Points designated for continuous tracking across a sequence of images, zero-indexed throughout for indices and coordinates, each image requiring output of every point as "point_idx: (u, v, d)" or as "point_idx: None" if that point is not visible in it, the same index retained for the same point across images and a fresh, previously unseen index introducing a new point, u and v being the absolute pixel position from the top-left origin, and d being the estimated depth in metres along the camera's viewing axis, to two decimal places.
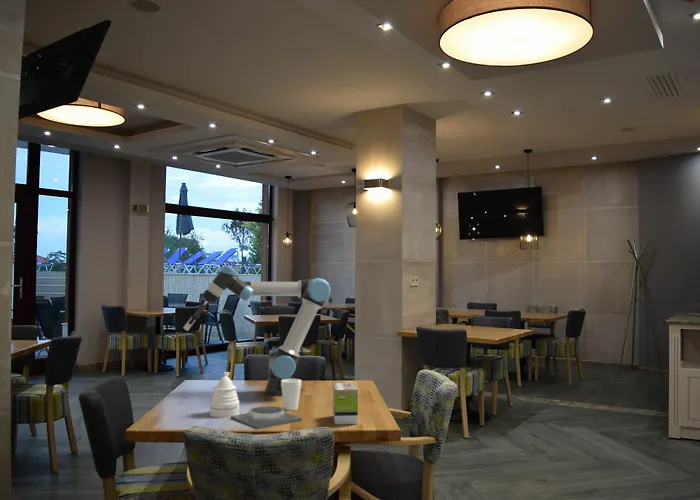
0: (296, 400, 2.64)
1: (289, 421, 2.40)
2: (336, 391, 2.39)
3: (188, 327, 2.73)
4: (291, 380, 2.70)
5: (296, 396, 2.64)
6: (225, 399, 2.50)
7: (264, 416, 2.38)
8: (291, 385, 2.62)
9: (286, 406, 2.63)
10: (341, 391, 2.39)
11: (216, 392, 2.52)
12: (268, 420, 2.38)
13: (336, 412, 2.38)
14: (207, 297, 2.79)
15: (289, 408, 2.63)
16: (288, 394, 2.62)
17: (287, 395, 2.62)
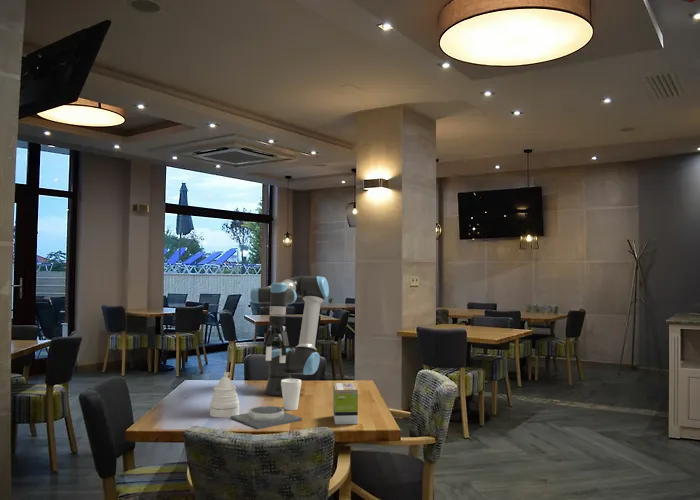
0: (296, 400, 2.64)
1: (289, 421, 2.40)
2: (336, 391, 2.39)
3: (284, 359, 2.59)
4: (291, 380, 2.70)
5: (296, 396, 2.64)
6: (226, 399, 2.50)
7: (264, 416, 2.38)
8: (291, 385, 2.62)
9: (286, 406, 2.63)
10: (341, 391, 2.39)
11: (216, 392, 2.52)
12: (268, 420, 2.38)
13: (336, 412, 2.38)
14: (279, 322, 2.63)
15: (289, 408, 2.63)
16: (288, 394, 2.62)
17: (287, 395, 2.62)
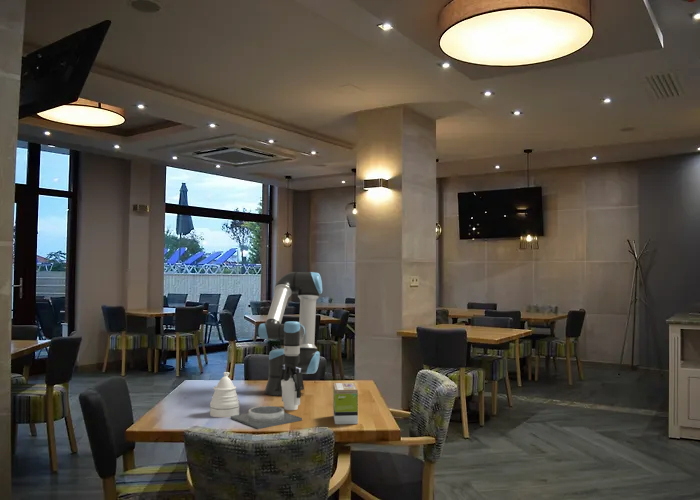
0: None
1: (289, 421, 2.40)
2: (336, 391, 2.39)
3: (298, 401, 2.62)
4: (291, 380, 2.70)
5: None
6: (226, 399, 2.50)
7: (264, 416, 2.38)
8: (291, 385, 2.62)
9: (286, 406, 2.63)
10: (341, 391, 2.39)
11: (216, 392, 2.52)
12: (268, 420, 2.38)
13: (336, 412, 2.38)
14: (294, 362, 2.64)
15: (289, 408, 2.63)
16: (288, 394, 2.62)
17: (287, 395, 2.62)
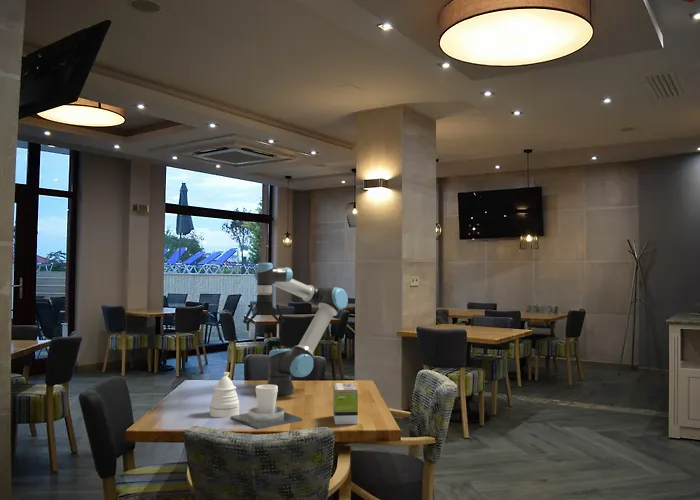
0: None
1: (289, 421, 2.40)
2: (336, 391, 2.39)
3: None
4: (259, 387, 2.48)
5: None
6: (225, 399, 2.50)
7: (264, 416, 2.38)
8: (276, 390, 2.44)
9: None
10: (341, 391, 2.39)
11: (216, 392, 2.52)
12: (268, 420, 2.38)
13: (336, 412, 2.38)
14: None
15: None
16: (272, 401, 2.43)
17: (271, 402, 2.43)
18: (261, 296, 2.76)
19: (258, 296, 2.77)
